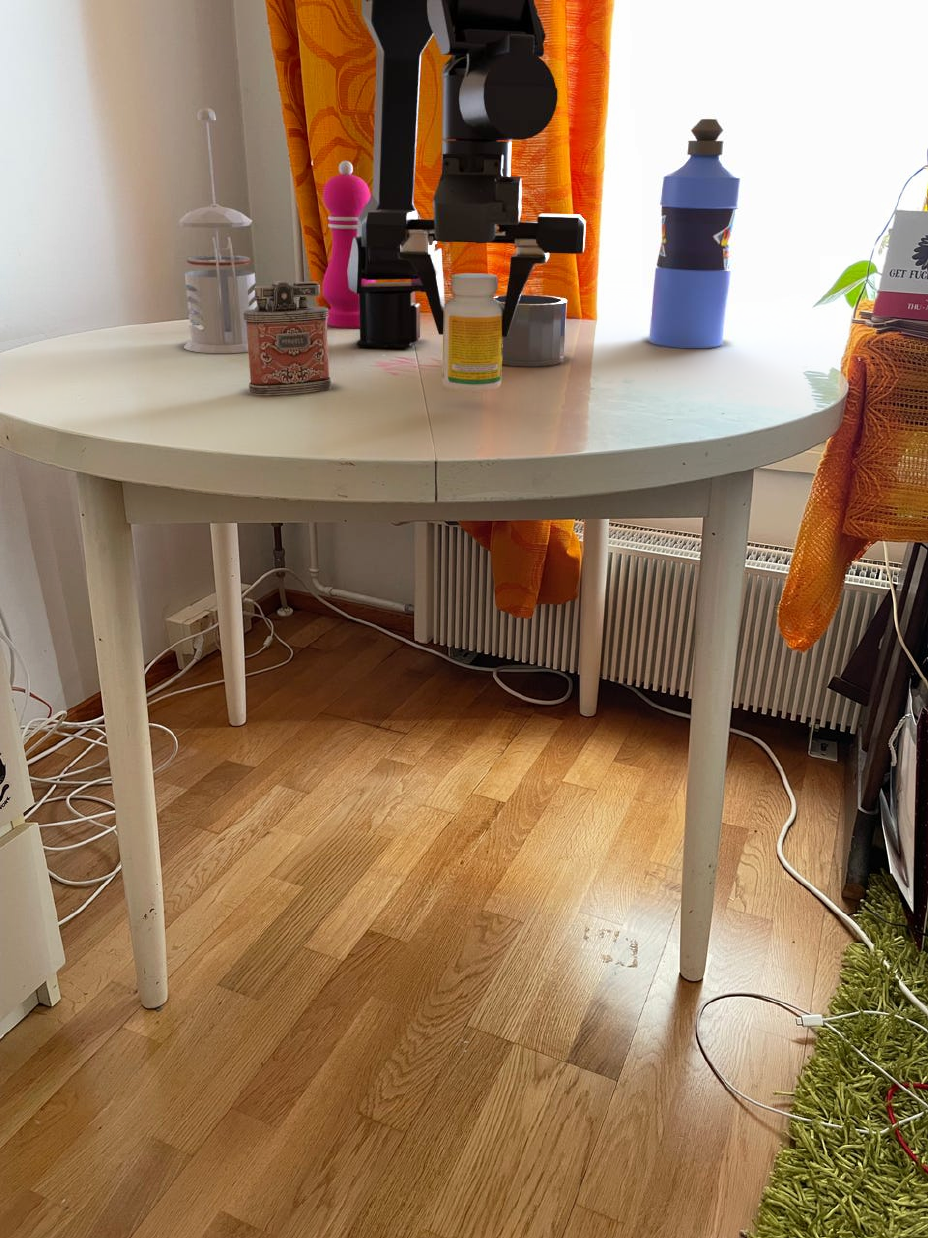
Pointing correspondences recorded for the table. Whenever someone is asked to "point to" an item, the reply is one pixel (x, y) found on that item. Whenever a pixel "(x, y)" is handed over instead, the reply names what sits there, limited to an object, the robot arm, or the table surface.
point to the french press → (218, 280)
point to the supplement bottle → (473, 334)
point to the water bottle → (695, 245)
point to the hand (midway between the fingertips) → (472, 335)
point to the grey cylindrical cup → (535, 331)
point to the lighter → (287, 341)
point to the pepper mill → (343, 244)
